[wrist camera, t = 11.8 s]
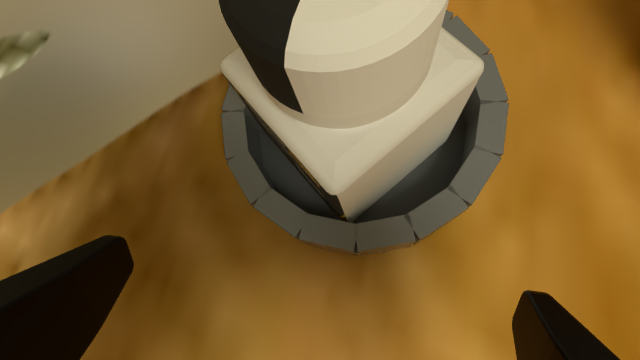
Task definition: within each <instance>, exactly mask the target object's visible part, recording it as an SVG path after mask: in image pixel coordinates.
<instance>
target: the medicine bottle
mask: <svg viewBox="0 0 640 360" xmlns="http://www.w3.org/2000/svg"><path fill="white" fill-rule="evenodd" d="M448 1H449V0H219V4H220V8H221V12H222V14H223V17H224V19H225V21H226V23H227V25H228V27H229V29H230V30H231V32H232V34H233V36H234V38H235V39H236V41H237V43H238V45H239V47H238V48H237V49H235V50H234V51H233V52H232V53H230V54H229V55H228V56H227V57H225V58H224V59H223V60H222V61H221V63H220V69H221V71H222V73H223V75H224V76H225V77H226V79H227V80H228V82H229V83H230V84H231V86H232V87H233V89H234V90H235V91H236V93H237V94H238V95H239V97H240V98H241V100H242V101H243V102H244V104H245V105H246V106H247V108H248V109H249V111H250V112H251V113H252V115H253V116H254V117H255V119H256V120H257V122H258V123H259V124H260V126H261V127H262V129H263V130H264V131H265V133H266V134H267V135H268V137H269V138H270V139H271V140H272V141H273V142H274V144H275V145H276V146H277V147H278V148H279V149H280V150H281V152H282V153H283V154H284V155H285V156H286V157H287V159H288V160H289V161H290V162H291V163H292V164H293V166H294V167H295V168H296V169H297V170H298V171H299V172H300V174H301V175H302V176H303V177H304V178H305V179H306V181H307V182H308V183H309V184H310V185H311V186H312V187H313V189H314V190H315V191H316V192H317V193H318V194H319V196H320V197H321V198H322V199H323V200H324V201H325V202H326V204H327V205H328V206H329V207H330V208H331V209H332V211H333V212H334V213H335V214H336V215H337V216H338V217H339V219H340V220H341V221H345V222H350V223H352V222H353V221H354V220H355V219H357V218H358V217H359V216H360V215H361V214H362V213H364V212H365V211H366V210H367V209H368V208H369V207H370V206H372V205H373V204H374V203H375V202H376V201H377V200H379V199H380V198H381V197H382V196H383V195H384V194H386V193H387V192H388V191H389V190H390V189H391V188H392V187H394V186H395V185H396V184H397V183H398V182H399V181H401V180H402V179H403V178H404V177H405V176H406V175H408V174H409V173H410V172H411V171H412V170H413V169H414V168H416V167H417V166H418V165H419V164H420V163H421V162H423V161H424V160H425V159H426V158H427V157H428V156H430V155H431V154H432V153H433V152H434V151H435V150H436V149H438V148H439V147H440V146H441V145H442V144H443V143H445V142H446V140H447V139H448V137H449V135H450V133H451V131H452V129H453V127H454V125H455V123H456V122H457V120H458V118H459V116H460V114H461V112H462V110H463V108H464V106H465V104H466V103H467V101H468V99H469V97H470V95H471V93H472V91H473V89H474V87H475V85H476V84H477V82H478V80H479V78H480V76H481V74H482V72H483V70H484V62H483V61H482V59H481V58H480V57H479V56H477V55H476V54H475V53H474V52H472V51H471V50H470V49H469V48H467V47H466V46H465V45H464V44H462V43H461V42H460V41H459V40H457V39H456V38H455V37H454V36H453V35H451V34H450V33H449V32H448V31H446V30H445V29H444V28H443V27H442V23H443V19H444V16H445V12H446V8H447V5H448Z"/></svg>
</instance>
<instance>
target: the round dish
mask: <svg viewBox="0 0 640 360" xmlns="http://www.w3.org/2000/svg"><path fill="white" fill-rule="evenodd" d="M452 17H453V13H452V12H449V11H447V10H446V12H445V16H444V19H443V23H442V27H443V28H444V29H445V30H446V31H448V32H449V33H450V34H451V35H453V36H454V37H455V38H456V39H457V40H459V41H460V42H461V43H462V44H464V45H465V46H466V47H467V48H469V49H470V50H471V51H472V52H474V53H475V54H476V55H477V56H479V57H480V58H481V59H482V61H483V62H484V70H483V72H482V74H481V76H480V78H479V80H478V82H477V84H476V85H475V87H474V89H473V91H472V93H471V95H470V97H469V99H468V101H467V103H466V104H465V106H464V108H463V110H462V112H461V114H460V116H459V118H458V120H457V122H456V123H455V125H454V127H453V129H452V131H451V133H450V135H449V137H448V139H447V140H446V142H445V143H443V144H442V145H441V146H440V147H439V148H438V149H436V150H435V151H434V152H433V153H432V154H431V155H430V156H428V157H427V158H426V159H425V160H424V161H423V162H421V163H420V164H419V165H418V166H417V167H416V168H414V169H413V170H412V171H411V172H410V173H409V174H408V175H406V176H405V177H404V178H403V179H402V180H401V181H399V182H398V183H397V184H396V185H395V186H394V187H392V188H391V189H390V190H389V191H388V192H387V193H386V194H384V195H383V196H382V197H381V198H380V199H379V200H377V201H376V202H375V203H374V204H373V205H372V206H370V207H369V208H368V209H367V210H366V211H365V212H364V213H362V214H361V215H360V216H359V217H358V218H357V219H355V220H354V221H353V222H352V223H350V222H345V221H341V220H340V219H339V217H338V216H337V215H336V214H335V213H334V212H333V211H332V209H331V208H330V207H329V206H328V205H327V204H326V202H325V201H324V200H323V199H322V198H321V197H320V196H319V194H318V193H317V192H316V191H315V190H314V189H313V187H312V186H311V185H310V184H309V183H308V182H307V181H306V179H305V178H304V177H303V176H302V175H301V174H300V172H299V171H298V170H297V169H296V168H295V167H294V166H293V164H292V163H291V162H290V161H289V160H288V159H287V157H286V156H285V155H284V154H283V153H282V152H281V150H280V149H279V148H278V147H277V146H276V145H275V144H274V142H273V141H272V140H271V139H270V138H269V137H268V135H267V134H266V133H265V131H264V130H263V129H262V127H261V126H260V124H259V123H258V122H257V120H256V119H255V117H254V116H253V115H252V113H251V112H250V111H249V109H248V108H247V106H246V105H245V104H244V102H243V101H242V100H241V98H240V97H239V95H238V94H237V93H236V91H235V90H234V89H233V87H232V86H231V84H230V85H229V88H228V91H227V94H226V97H225V100H224V103H223V106H222V109H221V110H222V111H223V112H224V113H221V118H222V129H223V140H224V151H225V159H226V160H228V161H227V164H228V166H229V168H230V169H231V171H232V173H233V175H234V176H235V178H236V180H237V182H238V183H239V185H240V187H241V189H242V191H243V192H244V194H245V196H246V198H247V199H248V201H249V203H250V204H251V205H253V207H254V208H255V209H256V210H258V211H259V212H261V213H262V214H263V215H265V216H266V217H267V218H269V219H270V220H272V221H273V222H274V223H276V224H277V225H278V226H280V227H281V228H283V229H284V230H285V231H287V232H288V233H289V234H291V235H292V236H294V237H295V238H297V239H299V240H300V241H302V242H304V243H306V244H308V245H312V246H317V247H321V248H325V249H328V250H332V251H337V252H343V253H348V254H352V255H356V254H360V255H366V254H372V253H381V252H387V251H391V250H395V249H400V248H405V247H410V246H411V245H412V244H413V245H415V244H416V243H418V242H419V241H421V240H422V239H424V238H426V237H427V236H429V235H430V234H432V233H433V232H435V231H436V230H438V229H439V228H441V227H442V226H444V225H445V224H447V223H448V222H450V221H451V220H453V219H455V218H456V217H457V216H459V215H460V214H461V213H463V212H464V211H465V210H466V209H468V208H469V206H471V205H472V204H473V202H474V201H475V199H476V197H477V196H478V194H479V193H480V191H481V190H482V188H483V186H484V185H485V183H486V182H487V180H488V179H489V177H490V175H491V174H492V172H493V171H494V169H495V168H496V166H497V164H498V163H499V161H500V160H501V157H500V156H501V155H502V154H503V149H504V141H505V132H506V123H507V114H508V106H509V103H506V102H507V100H508V97H507V94H506V91H505V88H504V86H503V83H502V80H501V77H500V74H499V72H498V69H497V66H496V63H495V60H494V58H493V55H492V53H490V54H488V53H489V51H490V49H489V48H488V47H487V46H486V45H485V44H484V43H483V42H482V41H481V40H480V39H479V38H478V37H477V36H476V35H475V34H474V33H473V32H472V31H471V30H470V29H469V28H468V27H467V26H466V25H465V24H464V23H463V22H462V21H461V19H460V18H459V17H458V16H455V17H454V18H452Z"/></svg>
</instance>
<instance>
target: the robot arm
mask: <svg viewBox="0 0 640 360" xmlns="http://www.w3.org/2000/svg"><path fill="white" fill-rule="evenodd" d="M133 267H134V262H133V259H132V256H131V253H130V250H129V247H128V245H127V242H126V240H125V239H124V238H123V237H120V236H112V235H106V236H103V237H100V238H98V239H96V240H93V241H91V242H89V243H86V244H84V245H82V246H79V247H77V248H75V249H73V250H70V251H68V252H66V253H63V254H61V255H59V256H56V257H54V258H52V259H49V260H47V261H45V262H42V263H40V264H38V265H36V266H33V267H31V268H29V269H26V270H24V271H22V272H19V273H17V274H15V275H12V276H10V277H8V278H5V279H3V280H1V281H0V360H80V359H81V357H82V356H83V354H84V353H85V351H86V350H87V348H88V347H89V345H90V344H91V342H92V341H93V339H94V338H95V336H96V335H97V333H98V332H99V330H100V329H101V327H102V325H103V323H104V322H105V320H106V318H107V316H108V315H109V313H110V311H111V309H112V307H113V306H114V304H115V302H116V300H117V298H118V297H119V295H120V293H121V291H122V289H123V288H124V286H125V284H126V282H127V280H128V278H129V277H130V275H131V273H132V271H133ZM512 330H513V337H514V343H515V349H516V356H517V360H620V359H619V358H618V357H617V356H616V355H615V354H614V353H613V352H611V351H610V350H609V349H608V348H607V347H606V346H605V345H604V344H603V343H602V342H601V341H600V340H598V339H597V338H596V337H595V336H594V335H593V334H592V333H591V332H590V331H589V330H588V329H586V328H585V327H584V326H583V325H582V324H581V323H580V322H579V321H578V320H577V319H576V318H575V317H573V316H572V315H571V314H570V313H569V312H568V311H567V310H566V309H565V308H564V307H563V306H561V305H560V304H559V303H558V302H557V301H556V300H555V299H554V298H553V297H552V296H550V295H549V294H547V293H545V292H537V291H530V290H527V291H524V292H523V293H522V295H521V298H520V300H519V303H518V305H517V308H516V311H515V313H514V316H513V320H512Z"/></svg>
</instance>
